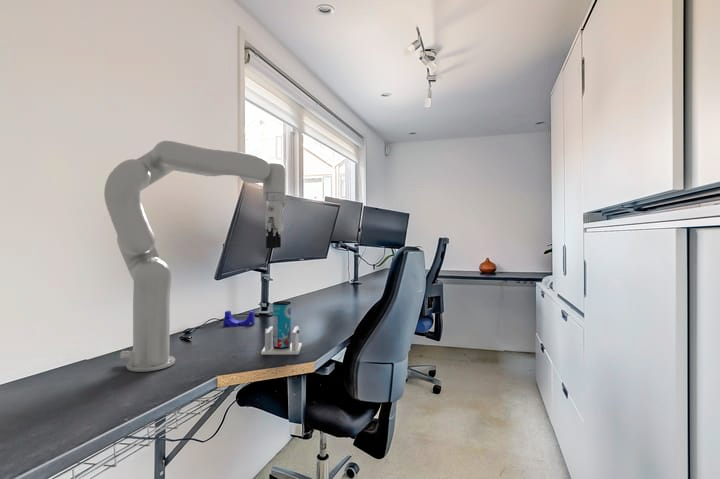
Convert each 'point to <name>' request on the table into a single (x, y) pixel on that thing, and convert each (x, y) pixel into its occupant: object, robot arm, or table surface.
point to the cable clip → (233, 322)
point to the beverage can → (281, 324)
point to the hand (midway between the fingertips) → (273, 247)
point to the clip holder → (270, 350)
